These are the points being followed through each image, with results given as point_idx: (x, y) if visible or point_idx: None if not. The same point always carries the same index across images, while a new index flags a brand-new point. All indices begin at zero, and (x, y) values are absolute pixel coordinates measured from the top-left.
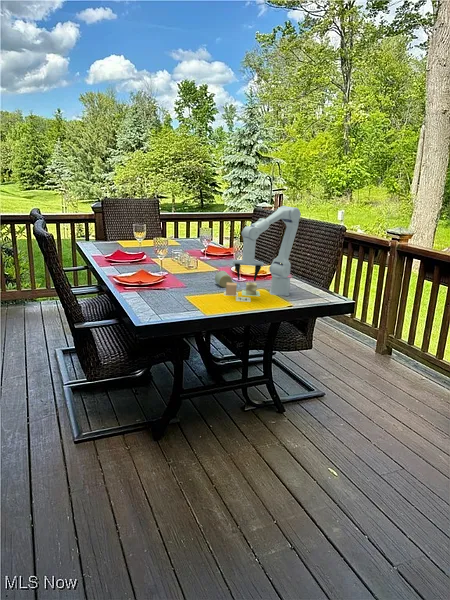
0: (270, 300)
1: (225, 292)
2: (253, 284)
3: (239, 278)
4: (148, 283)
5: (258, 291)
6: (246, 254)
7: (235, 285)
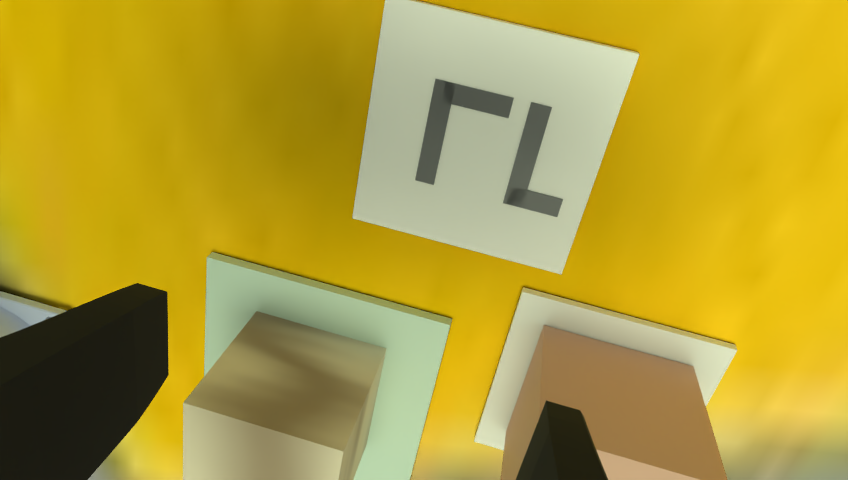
0: (81, 98)
1: None
2: (231, 449)
3: (551, 424)
4: None
5: None
6: None
7: None
